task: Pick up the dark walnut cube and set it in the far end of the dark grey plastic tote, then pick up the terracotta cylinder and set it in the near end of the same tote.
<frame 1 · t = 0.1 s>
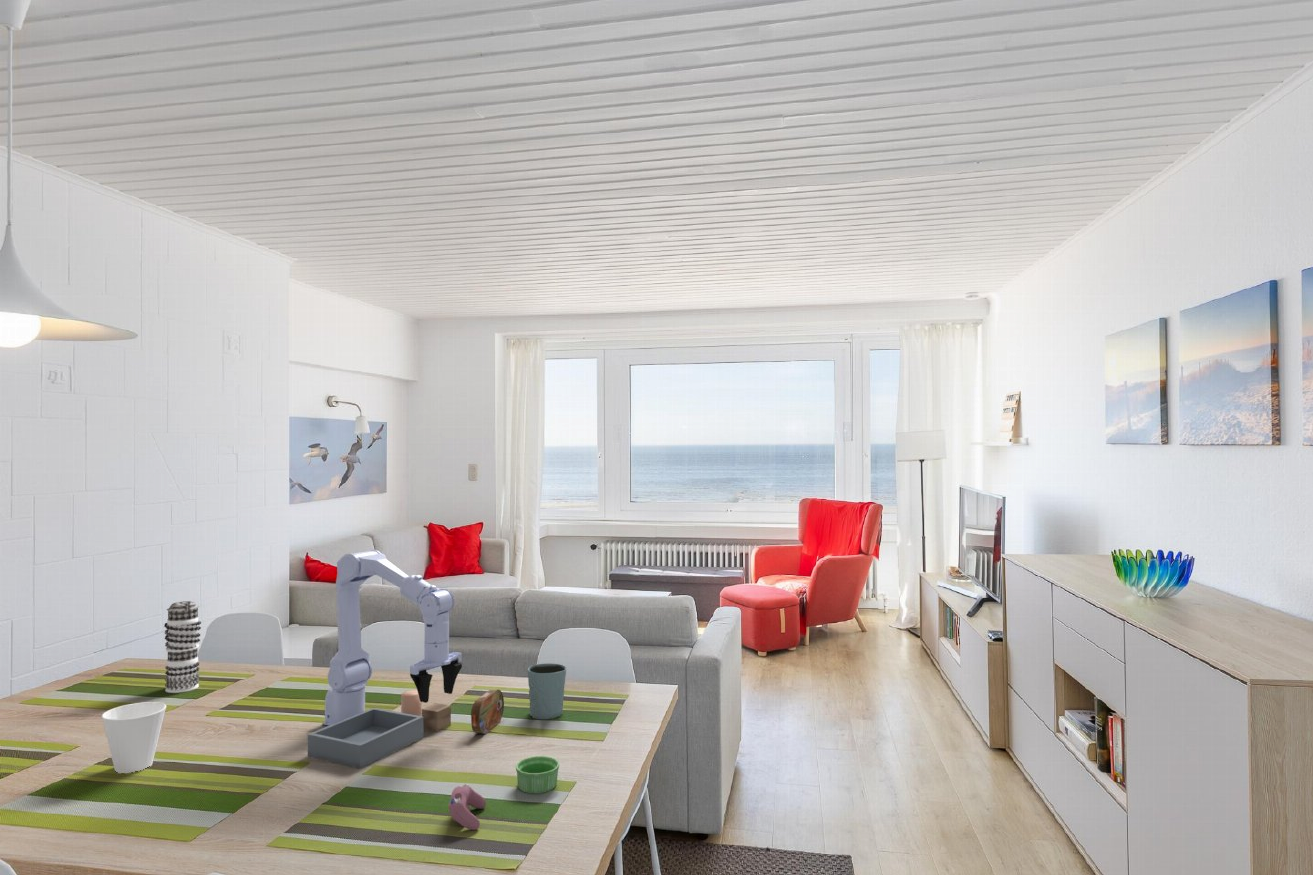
hand: (436, 697, 185), 10 cm above the table, tool pointing down, fingers open, 7 cm apart
cylinder: (411, 720, 198), on the table
grey plant pot: (546, 714, 203), on the table
decorative candle: (182, 688, 224), on the table
tote: (367, 746, 180), on the table
ramekin: (537, 786, 159), on the table
cup: (133, 767, 168), on the table
video game controller: (467, 820, 145), on the table
tin: (487, 728, 193), on the table
cube: (436, 727, 193), on the table
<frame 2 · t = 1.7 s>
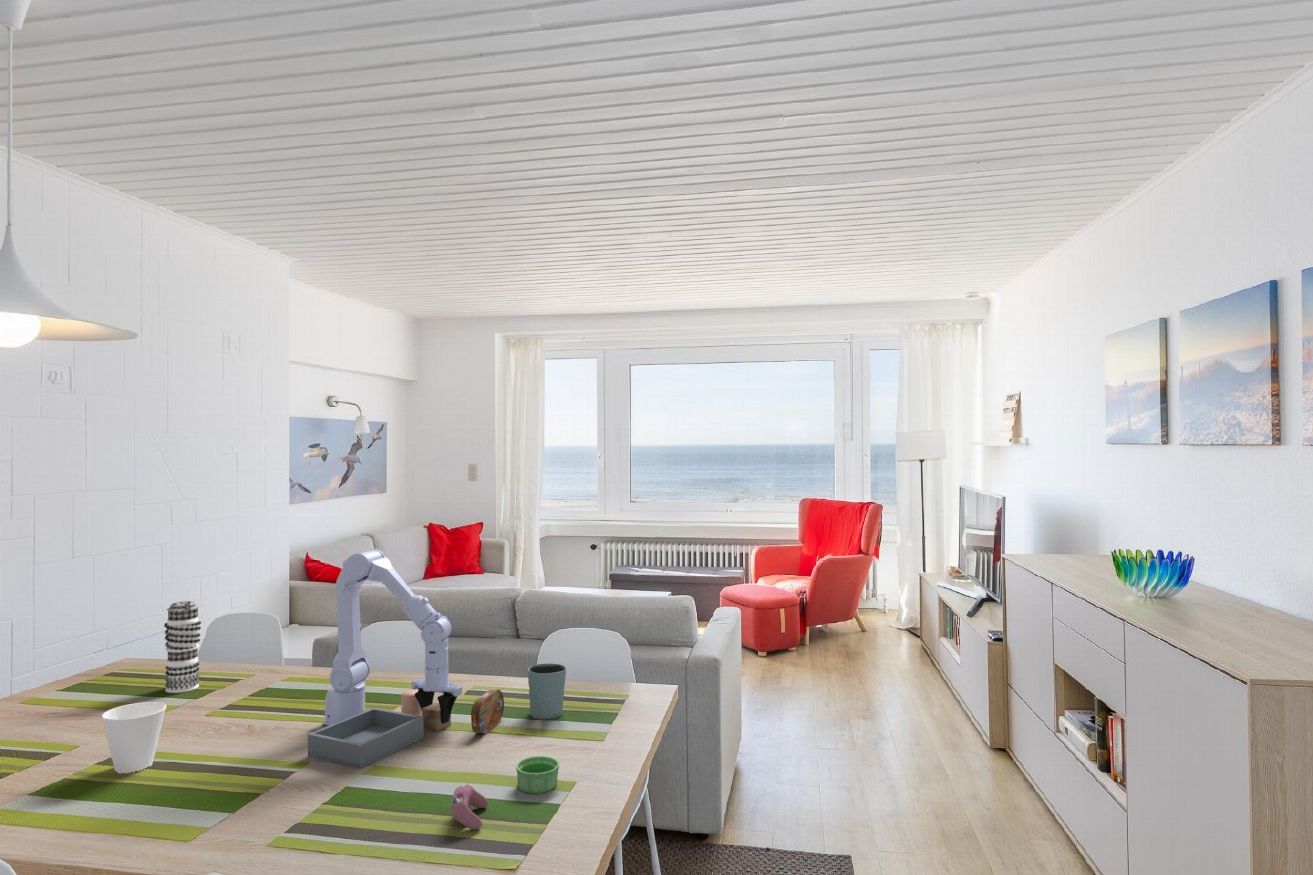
hand: (436, 720, 193), 2 cm above the table, tool pointing down, fingers closed on cube, 5 cm apart
cube: (436, 726, 193), on the table, touching gripper
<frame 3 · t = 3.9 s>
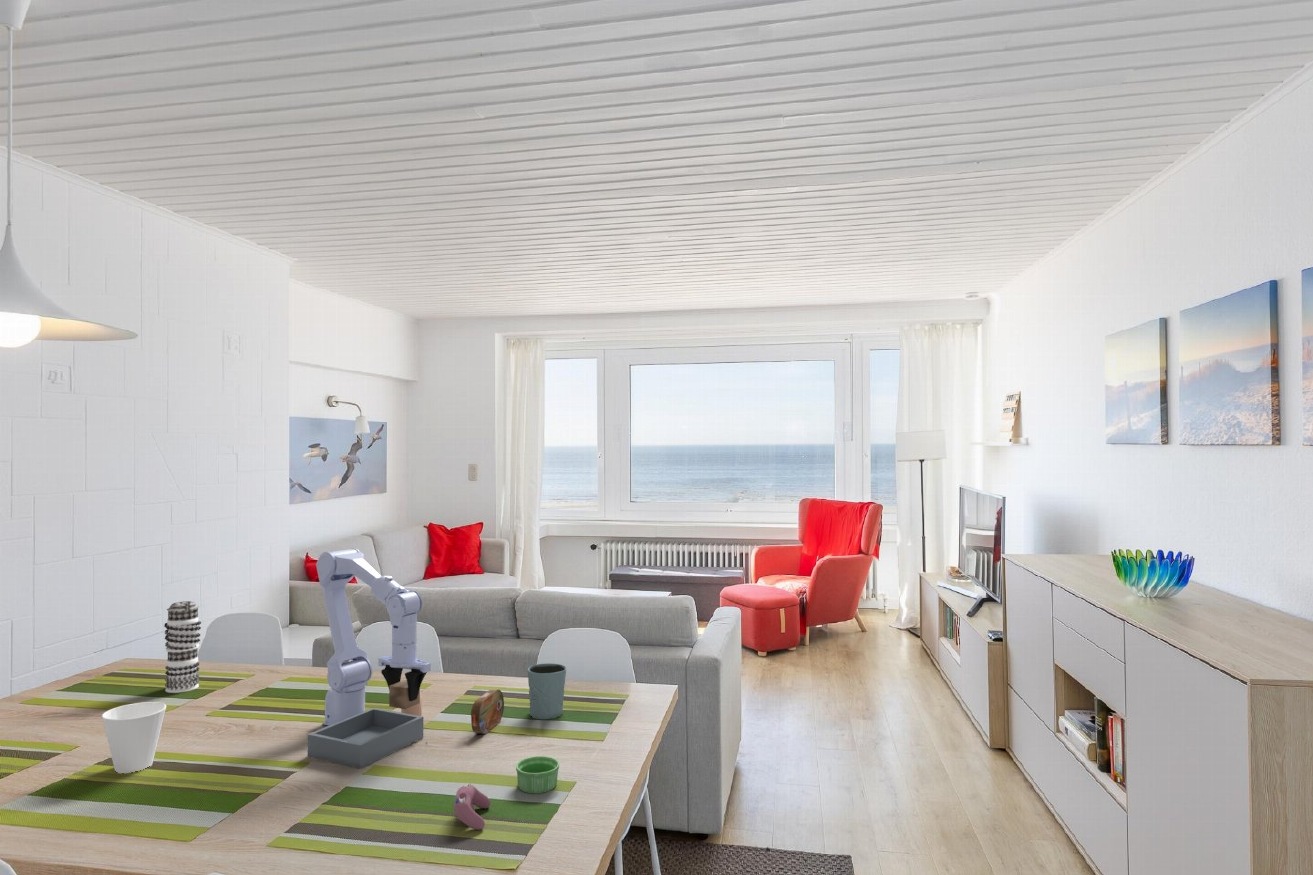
hand: (404, 698, 186), 9 cm above the table, tool pointing down, fingers closed on cube, 5 cm apart
cube: (404, 704, 186), point 8 cm above the table, touching gripper
when the fingers open (4 cm above the table, at t = 6.3 s): cube drops 1 cm, resting on tote.
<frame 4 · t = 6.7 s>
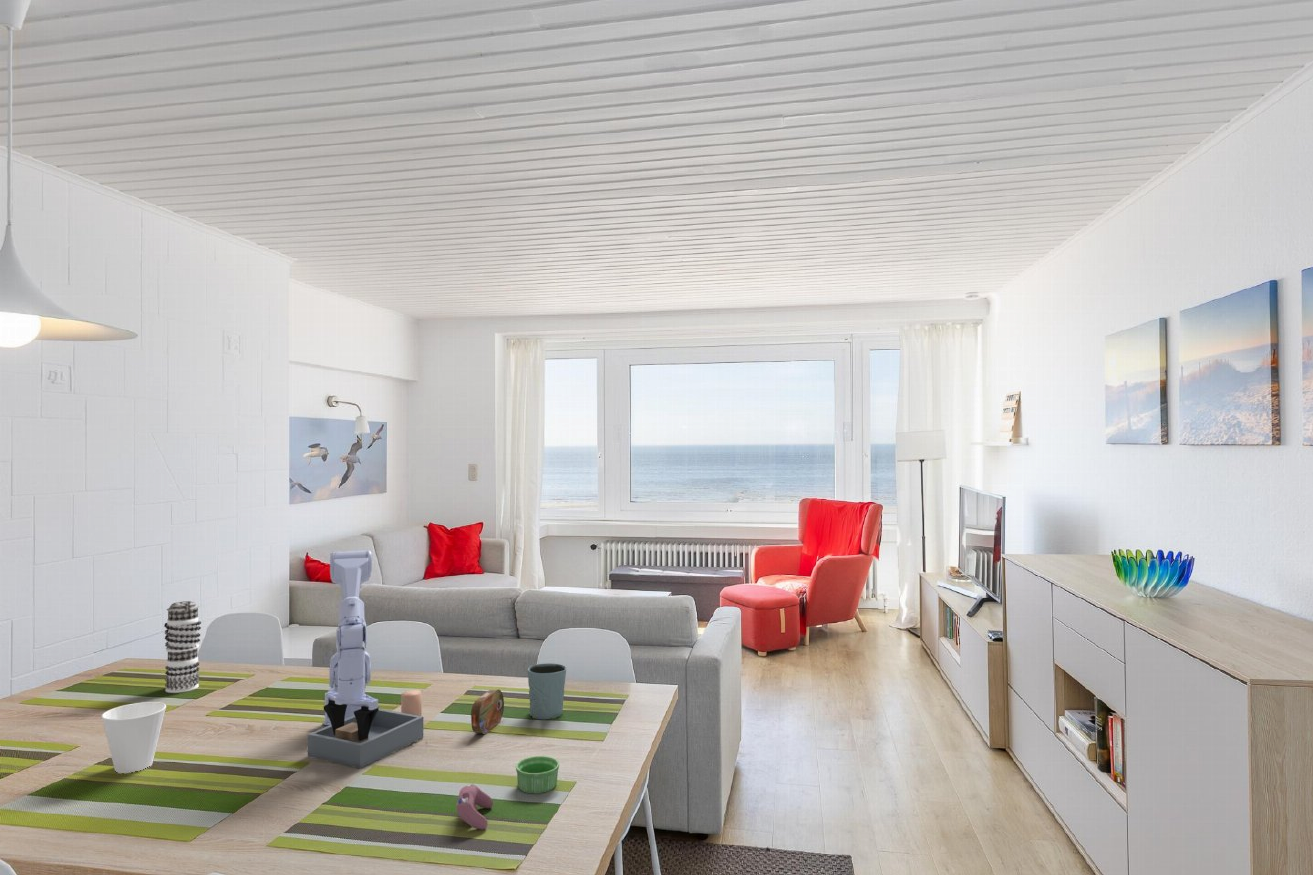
hand: (350, 736, 176), 4 cm above the table, tool pointing down, fingers open, 7 cm apart
cube: (351, 749, 176), point 1 cm above the table, touching tote
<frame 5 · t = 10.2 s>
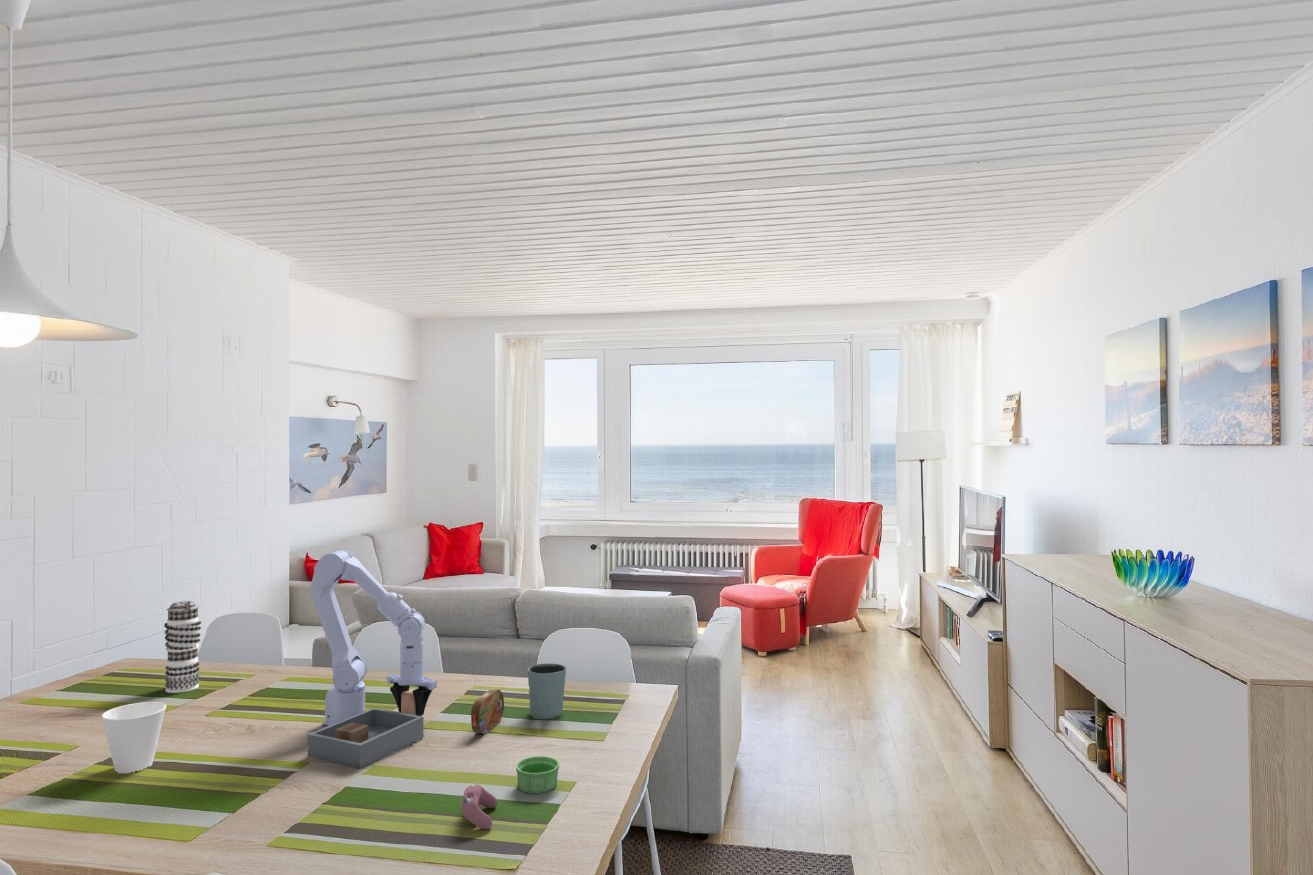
hand: (411, 713, 198), 2 cm above the table, tool pointing down, fingers closed on cylinder, 5 cm apart
cylinder: (411, 720, 198), on the table, touching gripper
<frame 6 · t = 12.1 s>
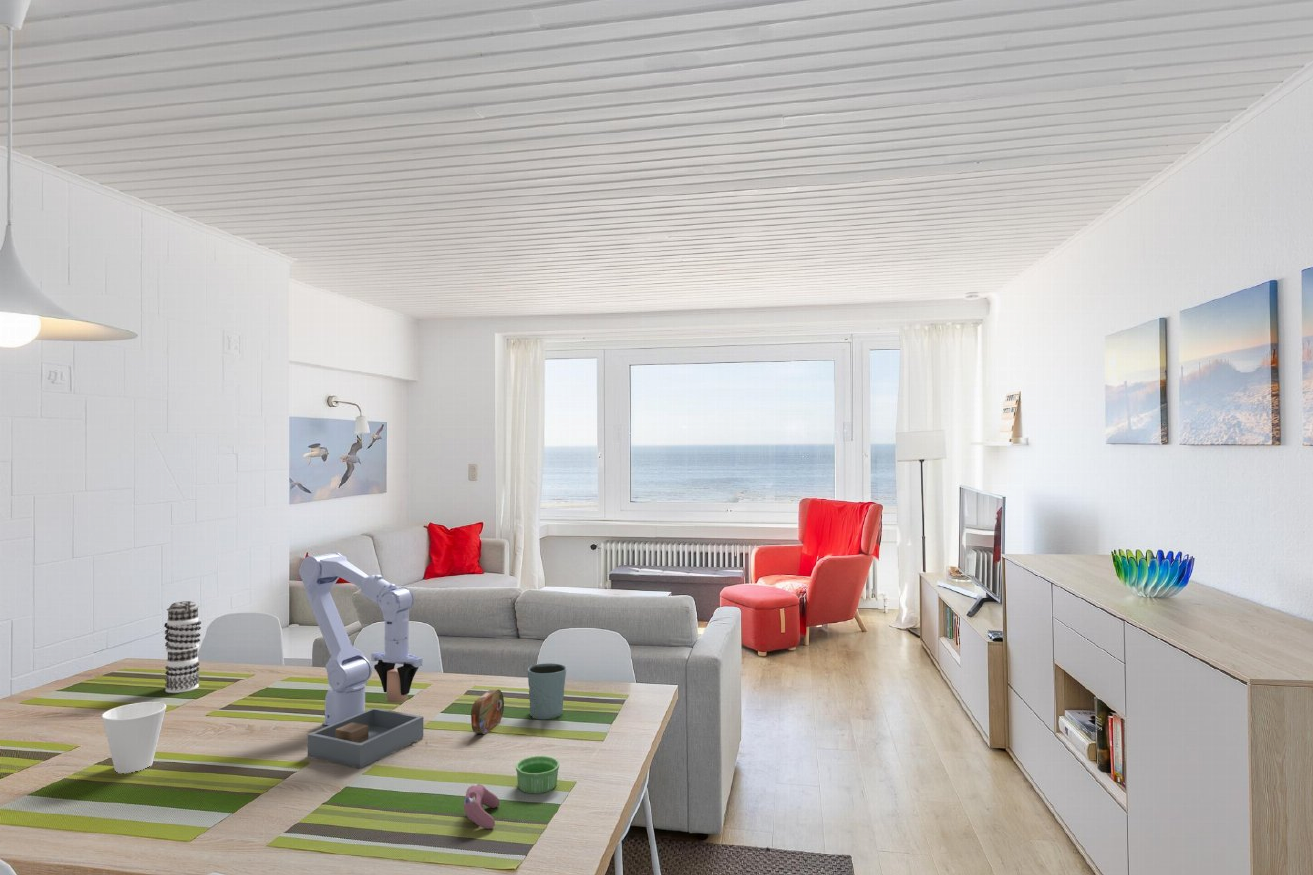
hand: (396, 692, 190), 9 cm above the table, tool pointing down, fingers closed on cylinder, 5 cm apart
cylinder: (396, 699, 191), point 8 cm above the table, touching gripper
when the fingers open (4 cm above the table, at t = 14.0 s): cylinder drops 1 cm, resting on tote.
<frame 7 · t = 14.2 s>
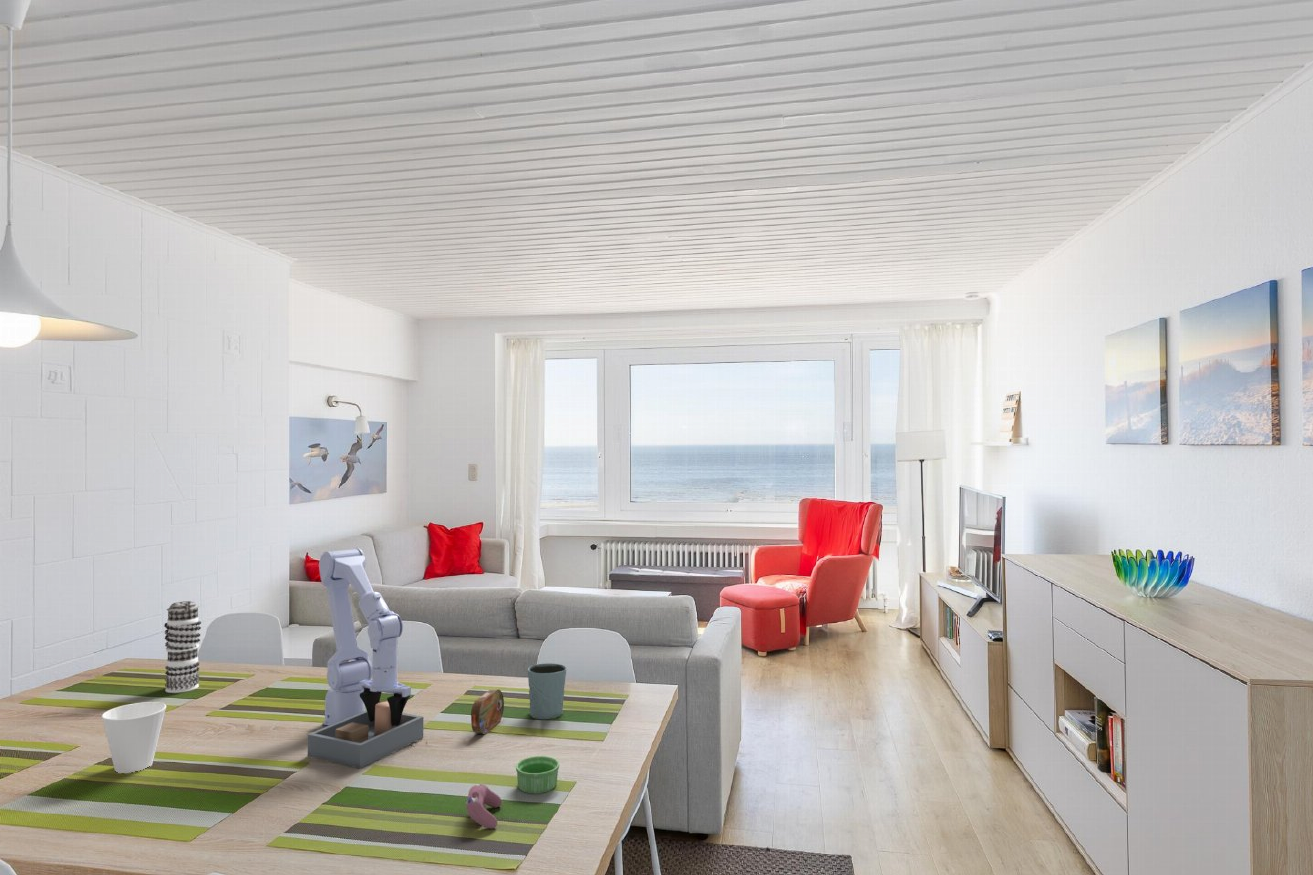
hand: (384, 722, 185), 4 cm above the table, tool pointing down, fingers open, 6 cm apart
cylinder: (385, 733, 185), point 1 cm above the table, touching tote
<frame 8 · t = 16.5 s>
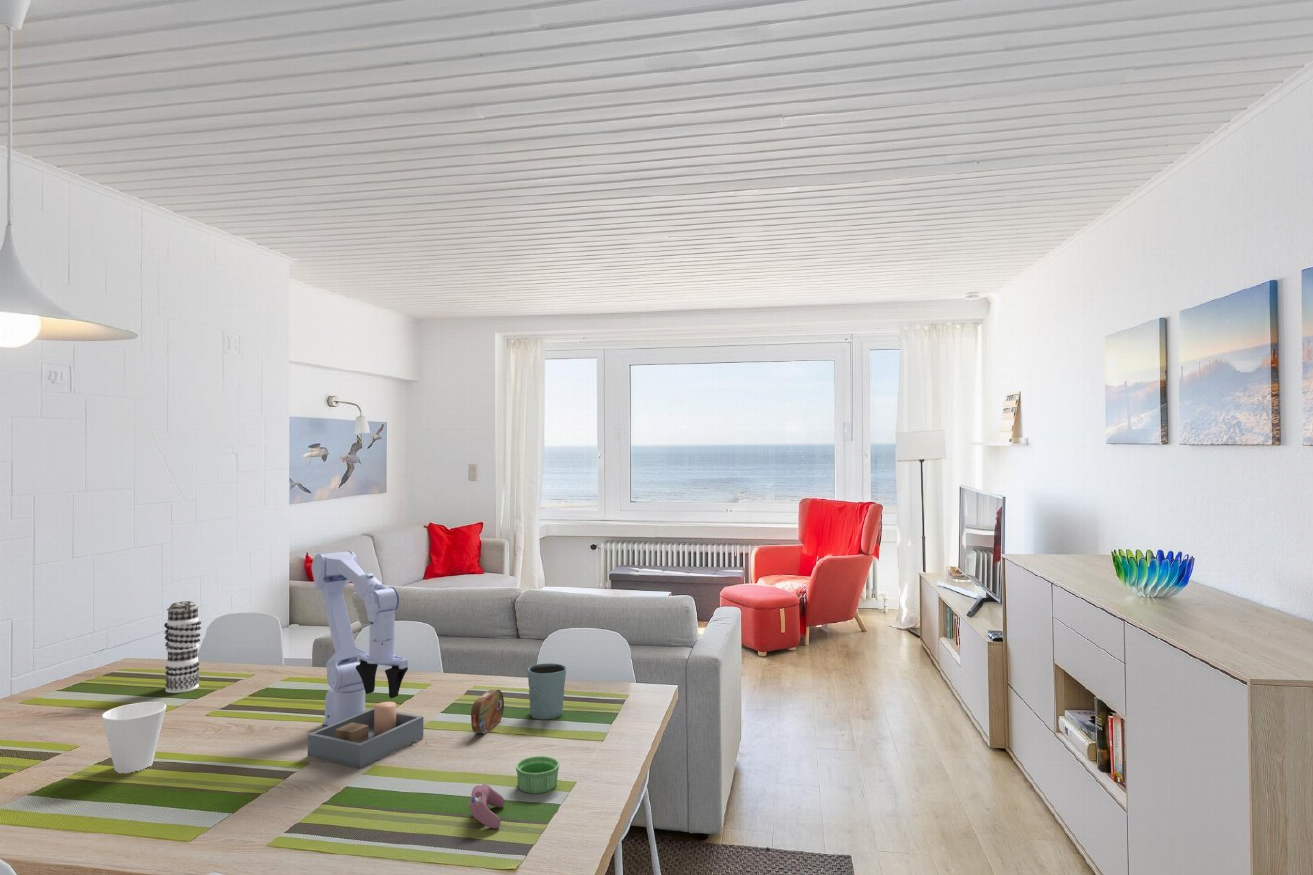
hand: (381, 694, 186), 10 cm above the table, tool pointing down, fingers open, 7 cm apart
at the end: cube inside the target area on the tote (4.7 cm from its centre), point 1.0 cm above the tote's base; cylinder inside the target area on the tote (5.7 cm from its centre), point 1.0 cm above the tote's base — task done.
